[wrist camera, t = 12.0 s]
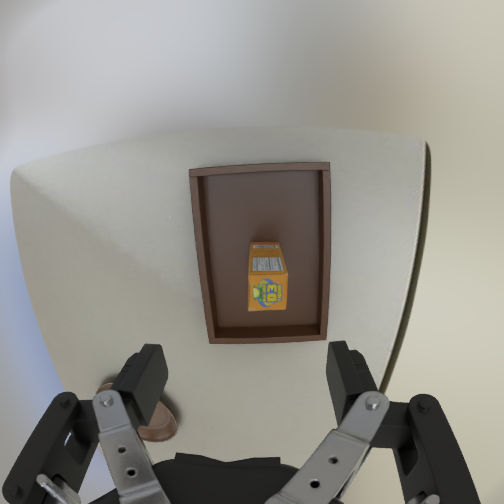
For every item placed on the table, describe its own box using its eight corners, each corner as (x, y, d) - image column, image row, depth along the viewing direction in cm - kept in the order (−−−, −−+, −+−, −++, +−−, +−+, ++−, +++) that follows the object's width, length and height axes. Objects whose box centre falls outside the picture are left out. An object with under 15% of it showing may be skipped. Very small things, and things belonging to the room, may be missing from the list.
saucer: (87, 386, 41) (80, 395, 39) (136, 361, 38) (129, 372, 36) (143, 437, 44) (138, 447, 42) (198, 421, 41) (195, 433, 39)
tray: (196, 168, 30) (188, 169, 27) (323, 162, 29) (330, 162, 26) (213, 330, 36) (209, 343, 33) (322, 326, 35) (326, 340, 32)
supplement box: (281, 269, 32) (286, 313, 23) (250, 269, 32) (243, 313, 23) (282, 240, 31) (288, 274, 22) (250, 240, 31) (242, 274, 22)
